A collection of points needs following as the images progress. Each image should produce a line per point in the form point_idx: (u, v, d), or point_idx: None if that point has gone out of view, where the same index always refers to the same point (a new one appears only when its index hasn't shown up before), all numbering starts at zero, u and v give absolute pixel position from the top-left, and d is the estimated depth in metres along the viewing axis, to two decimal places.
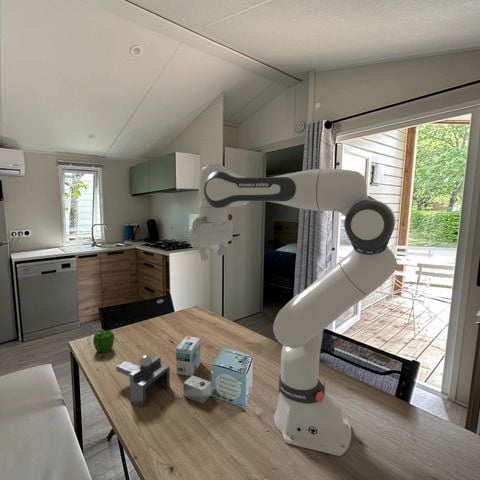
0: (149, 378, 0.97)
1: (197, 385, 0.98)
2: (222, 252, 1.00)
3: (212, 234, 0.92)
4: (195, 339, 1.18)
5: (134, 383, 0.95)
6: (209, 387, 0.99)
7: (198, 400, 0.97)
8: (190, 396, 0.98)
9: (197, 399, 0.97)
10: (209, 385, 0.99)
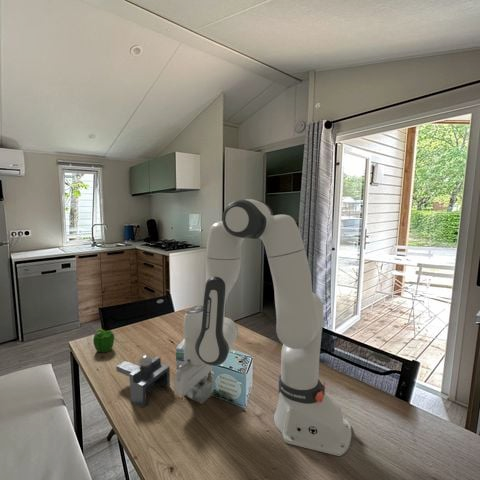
0: (149, 378, 0.97)
1: (196, 385, 0.98)
2: None
3: (196, 374, 0.96)
4: None
5: (134, 383, 0.95)
6: (209, 387, 0.99)
7: (197, 400, 0.97)
8: None
9: (196, 399, 0.97)
10: (209, 385, 0.99)
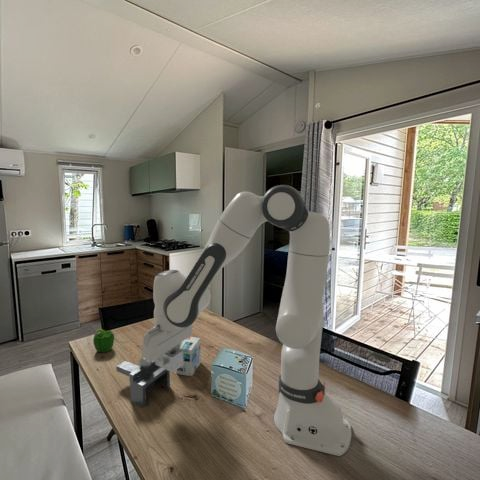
0: (149, 378, 0.97)
1: (167, 353, 0.93)
2: None
3: (166, 341, 0.90)
4: (195, 339, 1.18)
5: (134, 383, 0.95)
6: (181, 356, 0.94)
7: (168, 368, 0.92)
8: None
9: (167, 368, 0.92)
10: (181, 353, 0.94)
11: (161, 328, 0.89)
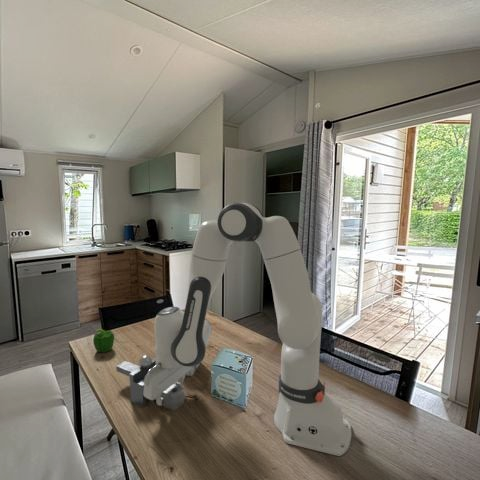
0: None
1: (168, 392, 0.94)
2: (181, 385, 1.00)
3: (167, 378, 0.92)
4: None
5: (134, 383, 0.95)
6: (182, 394, 0.96)
7: (169, 407, 0.94)
8: None
9: (169, 406, 0.94)
10: (182, 391, 0.96)
11: (162, 366, 0.91)
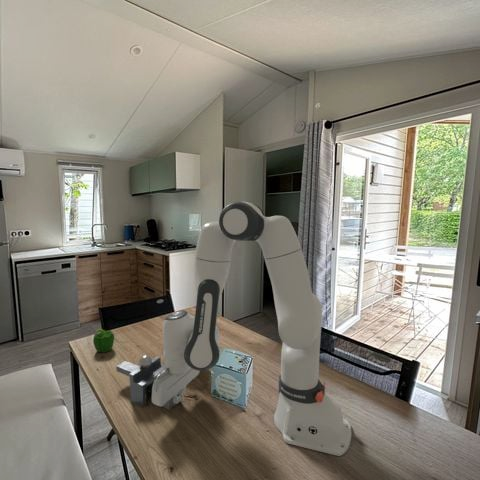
0: (149, 378, 0.97)
1: None
2: (181, 397, 0.95)
3: (176, 384, 0.90)
4: None
5: (134, 383, 0.95)
6: None
7: (165, 405, 0.94)
8: None
9: (164, 404, 0.94)
10: None
11: (171, 371, 0.89)
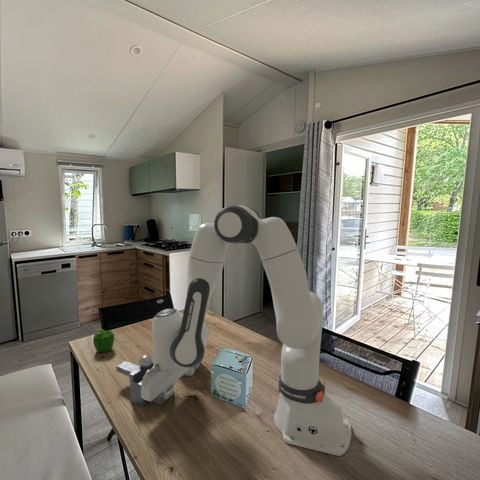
0: None
1: None
2: (171, 392, 0.97)
3: (165, 379, 0.93)
4: None
5: (134, 383, 0.95)
6: None
7: (156, 401, 0.96)
8: None
9: (155, 401, 0.96)
10: None
11: (160, 367, 0.91)
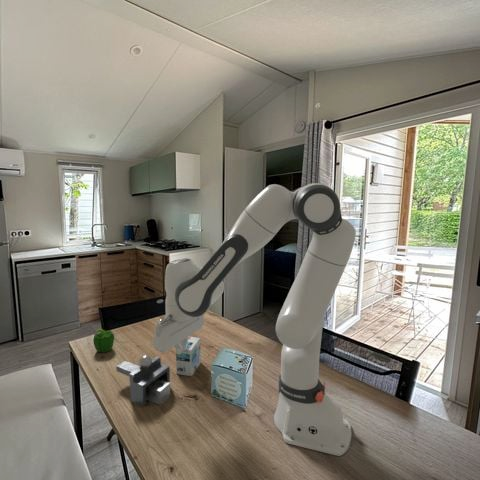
0: (149, 378, 0.97)
1: (155, 387, 0.97)
2: (184, 348, 0.92)
3: (178, 332, 0.88)
4: (195, 339, 1.18)
5: (134, 383, 0.95)
6: (168, 388, 0.98)
7: (156, 401, 0.96)
8: (148, 397, 0.97)
9: (155, 401, 0.96)
10: (168, 386, 0.98)
11: (173, 318, 0.86)
